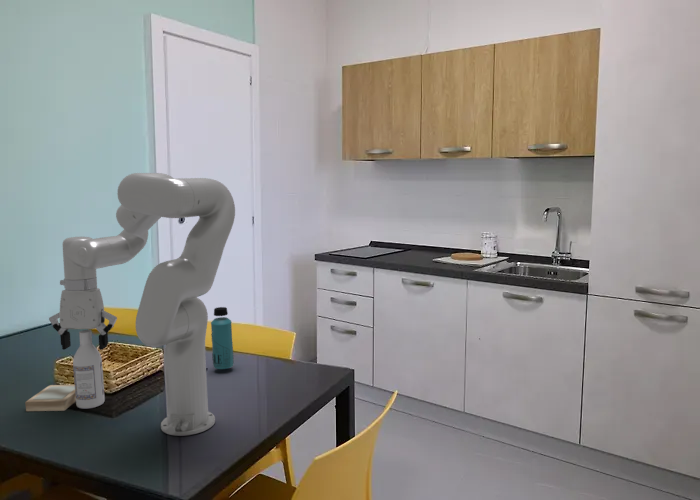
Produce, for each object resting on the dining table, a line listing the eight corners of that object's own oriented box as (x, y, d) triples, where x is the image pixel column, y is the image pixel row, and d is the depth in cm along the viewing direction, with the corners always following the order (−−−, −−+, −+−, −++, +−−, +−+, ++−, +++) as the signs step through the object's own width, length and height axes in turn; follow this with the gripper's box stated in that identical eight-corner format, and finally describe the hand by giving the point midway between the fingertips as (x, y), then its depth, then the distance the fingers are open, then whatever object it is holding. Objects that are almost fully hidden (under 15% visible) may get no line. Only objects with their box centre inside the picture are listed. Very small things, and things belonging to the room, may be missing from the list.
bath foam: (92, 397, 155) (86, 326, 152) (110, 401, 152) (105, 329, 149) (70, 407, 149) (64, 333, 146) (89, 411, 146) (83, 336, 143)
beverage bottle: (236, 367, 178) (234, 305, 176) (230, 374, 172) (227, 310, 169) (216, 366, 179) (214, 305, 176) (209, 374, 172) (206, 310, 170)
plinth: (64, 410, 146) (63, 400, 146) (26, 411, 146) (25, 401, 146) (85, 393, 158) (85, 384, 158) (50, 393, 158) (49, 384, 158)
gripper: (39, 287, 142) (44, 352, 145) (108, 287, 143) (111, 352, 145) (55, 281, 150) (59, 343, 152) (120, 281, 150) (123, 344, 152)
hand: (84, 348), depth 149 cm, fingers open, 9 cm apart
